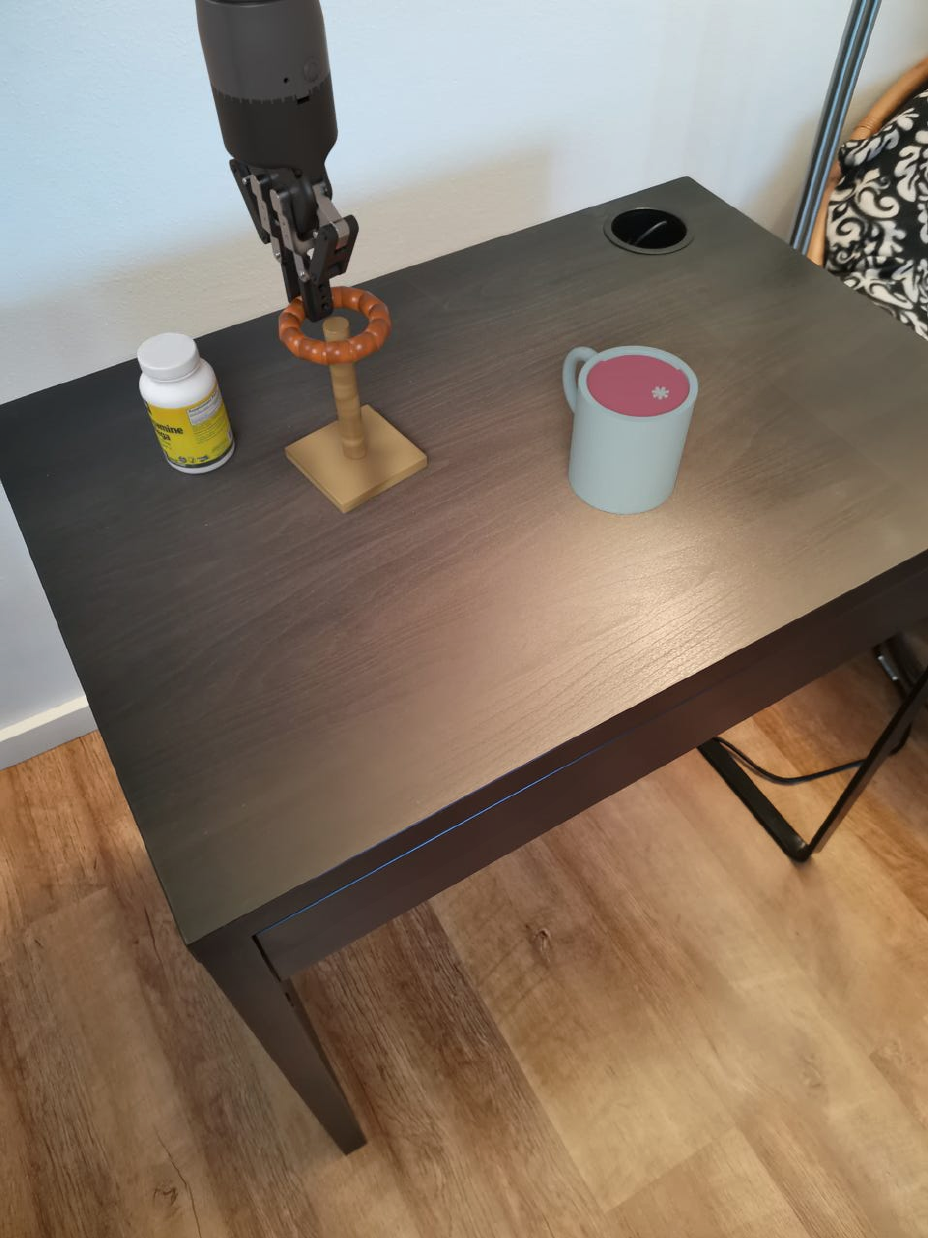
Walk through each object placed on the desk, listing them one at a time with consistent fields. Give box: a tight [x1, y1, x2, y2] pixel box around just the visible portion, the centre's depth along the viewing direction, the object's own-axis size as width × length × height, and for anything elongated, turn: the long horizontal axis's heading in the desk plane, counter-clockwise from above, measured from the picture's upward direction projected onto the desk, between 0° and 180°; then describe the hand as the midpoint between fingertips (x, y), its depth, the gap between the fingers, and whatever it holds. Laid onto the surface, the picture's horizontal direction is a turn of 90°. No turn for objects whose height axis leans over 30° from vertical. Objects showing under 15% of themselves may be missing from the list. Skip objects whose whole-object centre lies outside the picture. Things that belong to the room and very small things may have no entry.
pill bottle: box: [136, 331, 235, 475], centre depth 75 cm, size 6×6×11 cm
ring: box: [278, 285, 392, 366], centre depth 67 cm, size 8×8×2 cm
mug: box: [561, 345, 699, 515], centre depth 74 cm, size 14×9×10 cm
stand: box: [284, 316, 429, 515], centre depth 72 cm, size 9×9×14 cm
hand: (311, 309), depth 69 cm, fingers closed on ring, 2 cm apart
